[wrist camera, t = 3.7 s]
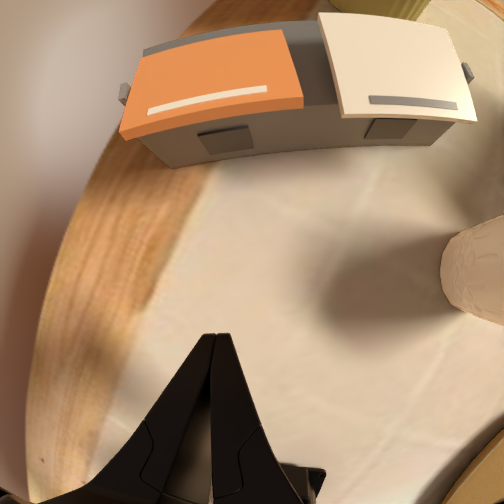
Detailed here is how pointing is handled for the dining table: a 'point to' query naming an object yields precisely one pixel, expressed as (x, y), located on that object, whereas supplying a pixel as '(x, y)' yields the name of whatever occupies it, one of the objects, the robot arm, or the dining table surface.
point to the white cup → (476, 270)
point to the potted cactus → (383, 7)
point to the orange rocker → (211, 83)
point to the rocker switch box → (285, 112)
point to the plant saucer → (481, 477)
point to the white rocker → (394, 69)
